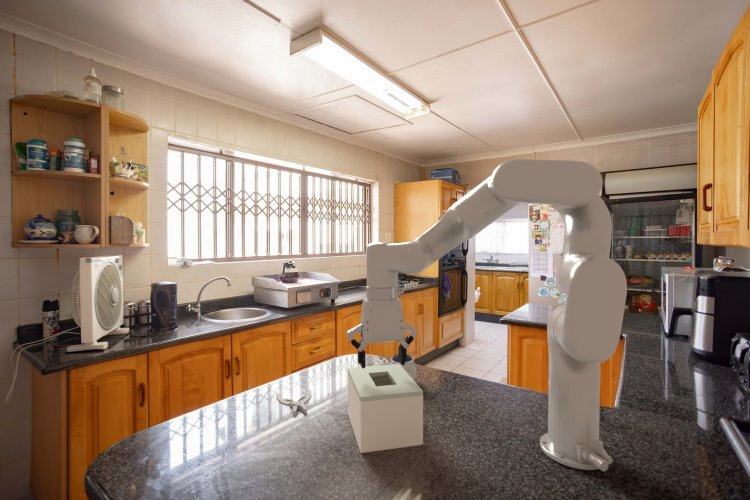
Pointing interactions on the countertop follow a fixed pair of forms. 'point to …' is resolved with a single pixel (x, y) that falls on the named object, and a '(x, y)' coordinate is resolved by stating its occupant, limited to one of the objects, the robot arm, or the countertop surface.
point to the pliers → (294, 404)
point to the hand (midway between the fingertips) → (382, 364)
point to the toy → (408, 367)
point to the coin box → (384, 407)
